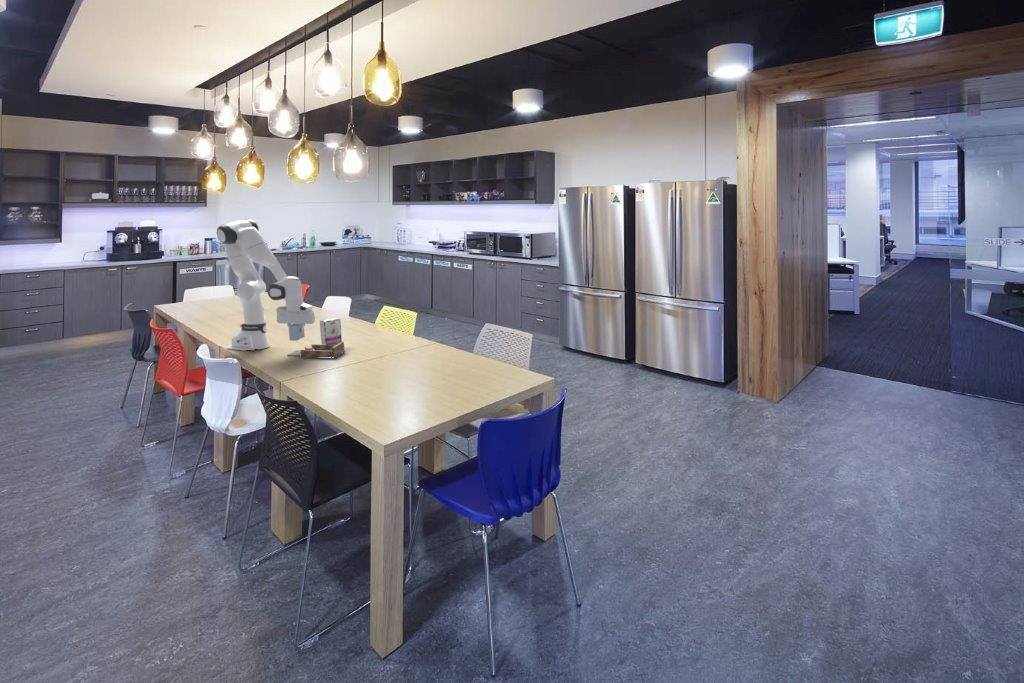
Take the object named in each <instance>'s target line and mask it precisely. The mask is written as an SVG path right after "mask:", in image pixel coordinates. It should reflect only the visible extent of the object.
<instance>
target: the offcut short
mask: <svg viewBox="0 0 1024 683" xmlns="http://www.w3.org/2000/svg"><path fill="white" fill-rule="evenodd" d="M304 350H313V348H312V347H311V345H307V346H306V345H305V346H304Z"/></svg>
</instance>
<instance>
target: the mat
mask: <svg viewBox="0 0 1024 683" xmlns="http://www.w3.org/2000/svg"><path fill="white" fill-rule="evenodd" d="M300 355H301V350H299V349H297V350H296V349H295V351H293V352H290V353H289V354H287V357H301V356H300Z"/></svg>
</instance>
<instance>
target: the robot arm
mask: <svg viewBox="0 0 1024 683" xmlns="http://www.w3.org/2000/svg"><path fill="white" fill-rule="evenodd" d="M259 229H260V228H259V226H258V223H257V222H256V221H255V220H254V219H249V218H247V219H246V218H245V219H241V220H235V221H232V222H228V223H223V224H221V225H219V226H218V227H217V229H216V236H217V240H219V241H220V242H221V243H222V244H224V248H225V253H226V256H227V259H228V262H229V264H230V266H231V268H232V271H233V273H234V274H235V275H236V277H237V278H238V280H239V281H240V284H238V286H237V288H236V295H237V297H238V298H239V301H240V305H241V308H242V315H243V316H242V318H243V323H242V324H240V325H239V328H241V329H240V331H238V332H237V333H236V334H234V335H233V336H232V337H231V343H230V344H229V345H228V346H226V348H227V350H235V351H246V350H251V351H256V350H255V349H257V350H263V349H266V348H269V347H271V345H270V342H269V339H268V336H267V323H266V318H265V317H266V316H265V308H264V306H263V304H262V300H261V297H262V296H263V295H264V294H265V292H266V291H267V295H268V296H269V297H268V298H270V299H271V300H273V301H283V300H284V301H285V306H284V305H283V306H281V305H280V306H278V307H277V308H276V311H275V312H276V322H277V323H278V324H286V325H287V327H288V328H289V326H290V325H292V324H301V326H302V327H301V328H300V329H299V330H300V332H303V328H304V329H305V326H306V325H313V324H314V323H315V322H316V317H315V312H314V310H313V305H312V304H308V303H305V302H304V299H303V287H302V286H303V285H302V282H301V279H300V278H299V277H297V276H292V275H291V276H289V275H288V273H287V272H286V270H285V269H284V267H283V265H282V264H281V263H280V261H279V259H278V258H277V257H276V256H275V255H274V253H273V252H272V251H271V249H270V248H269V246H268V244H267V242H266V241H265V239H264V237H263V236H262V234H261V233H260V232H259V231H260V230H259ZM254 263H255V264H257V265H261V266H263V267H266V268H267V269H269V270H270V271H271V273H272V274H273V276H274V277H275V279H276V280H277V282H274V283H271V284H269V285H268V287H267V285H266V283H265V281H263V279H262V277H261V275H260V274H259V272H258V271H257V269H256V267H255V264H254Z"/></svg>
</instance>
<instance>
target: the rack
mask: <svg viewBox="0 0 1024 683" xmlns="http://www.w3.org/2000/svg"><path fill="white" fill-rule="evenodd" d="M310 346H311V347H312V348H313V349H315V350H305V349H300V351H301V356H300V358H303V357H331V358H330V359H334V358H335V357H336V356H338V355H339V354H341V353H342V352H344V353H345V342H344V341H342V342H341V343H339V344H337V345H322V344H316V343H312V344H310ZM342 354H343V353H342ZM342 354H341V355H342ZM339 356H340V355H339ZM339 356H338V357H339ZM332 357H334V358H332ZM336 358H337V357H336ZM336 358H335V359H336Z"/></svg>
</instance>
